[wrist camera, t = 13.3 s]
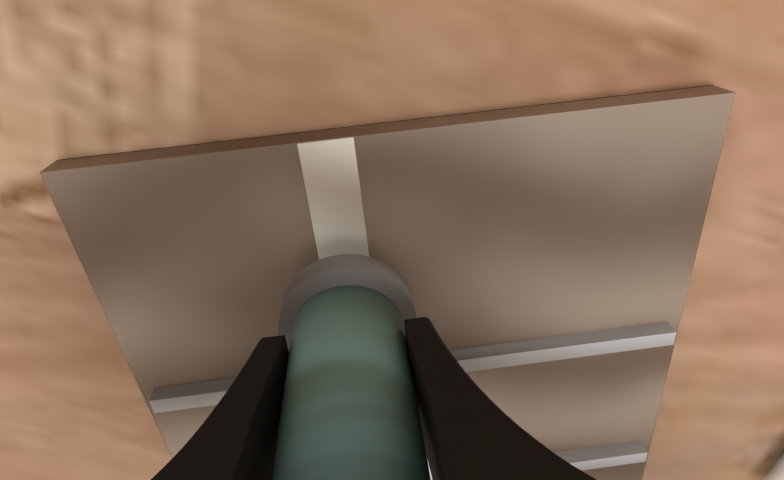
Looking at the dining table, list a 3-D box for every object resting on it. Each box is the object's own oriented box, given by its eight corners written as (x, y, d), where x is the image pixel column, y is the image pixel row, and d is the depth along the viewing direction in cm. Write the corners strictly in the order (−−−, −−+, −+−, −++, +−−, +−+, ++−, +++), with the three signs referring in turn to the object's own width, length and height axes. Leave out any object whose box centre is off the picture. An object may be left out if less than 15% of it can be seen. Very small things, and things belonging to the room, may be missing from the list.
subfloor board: (630, 463, 24) (647, 494, 23) (216, 521, 24) (208, 556, 22) (712, 85, 15) (749, 97, 14) (57, 160, 15) (27, 180, 13)
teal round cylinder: (417, 351, 16) (463, 584, 10) (294, 368, 16) (266, 613, 10) (408, 246, 14) (458, 455, 8) (268, 263, 14) (213, 489, 8)
